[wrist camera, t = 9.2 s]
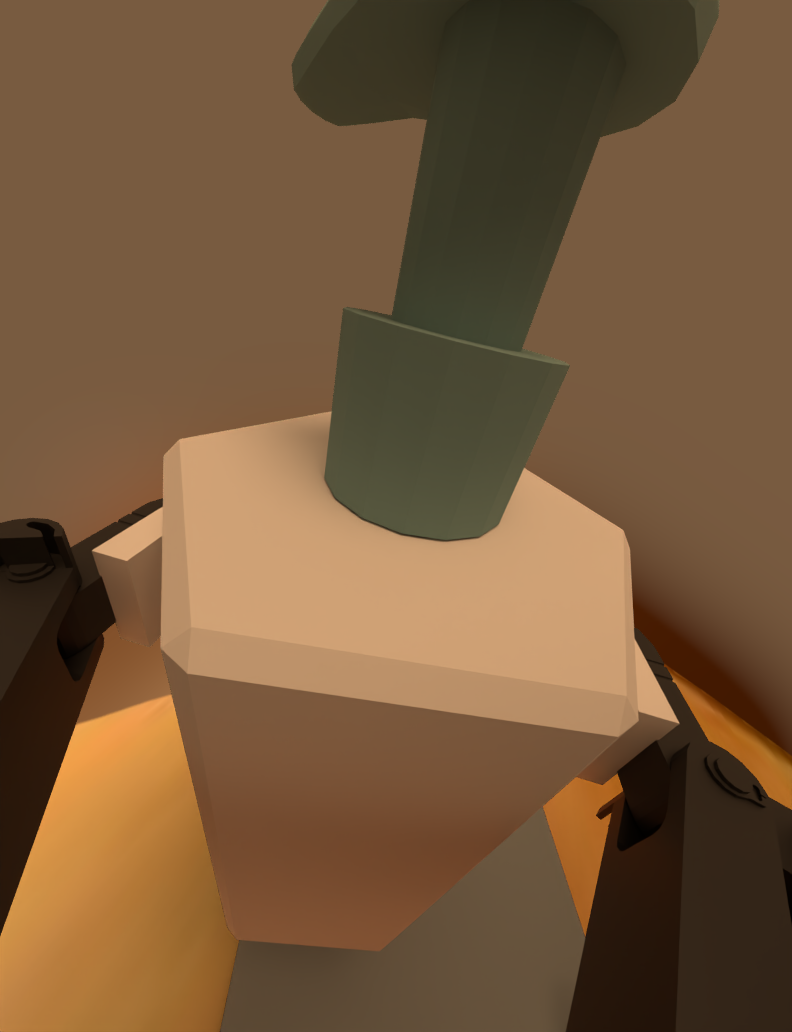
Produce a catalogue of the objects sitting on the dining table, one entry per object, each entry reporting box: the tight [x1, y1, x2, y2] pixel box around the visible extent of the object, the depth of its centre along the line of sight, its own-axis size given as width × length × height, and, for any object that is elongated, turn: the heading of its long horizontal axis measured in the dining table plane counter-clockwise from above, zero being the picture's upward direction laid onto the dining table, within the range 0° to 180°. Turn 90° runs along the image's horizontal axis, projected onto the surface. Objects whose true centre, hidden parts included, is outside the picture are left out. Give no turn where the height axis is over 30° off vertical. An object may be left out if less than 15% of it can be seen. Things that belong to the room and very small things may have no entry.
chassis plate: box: [220, 807, 585, 1032], centre depth 21 cm, size 20×20×6 cm
